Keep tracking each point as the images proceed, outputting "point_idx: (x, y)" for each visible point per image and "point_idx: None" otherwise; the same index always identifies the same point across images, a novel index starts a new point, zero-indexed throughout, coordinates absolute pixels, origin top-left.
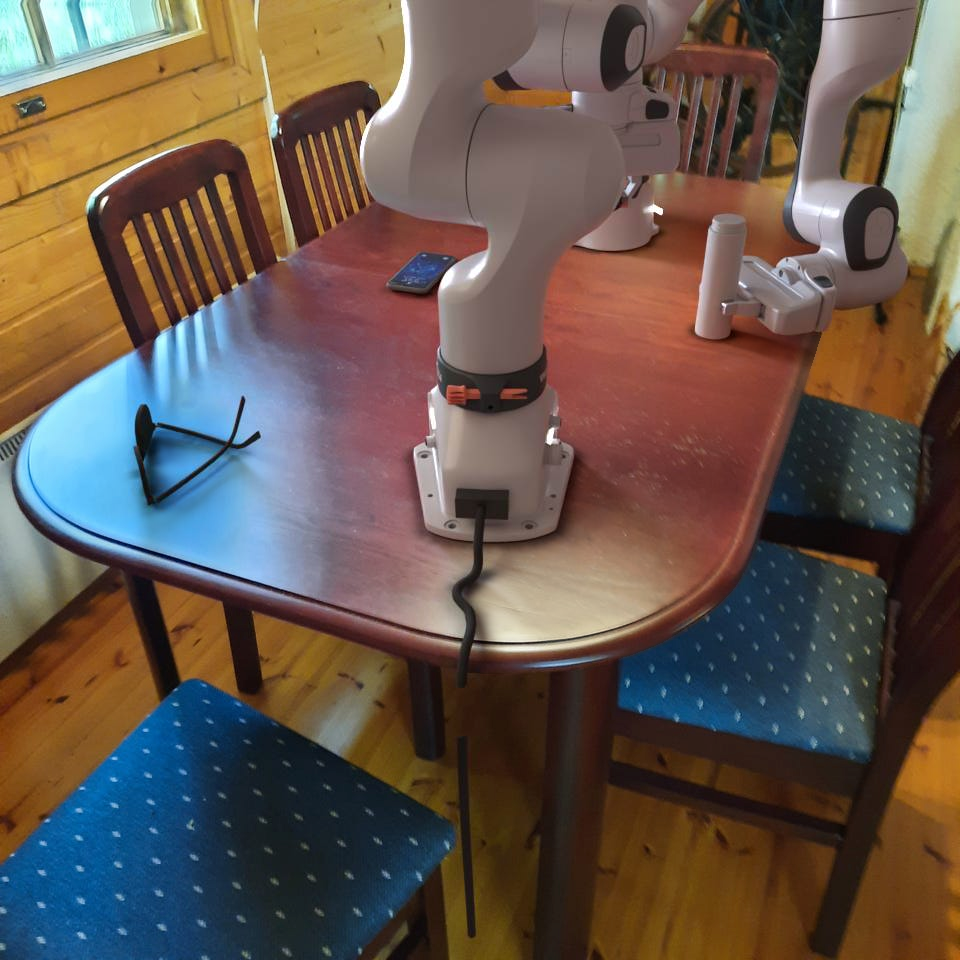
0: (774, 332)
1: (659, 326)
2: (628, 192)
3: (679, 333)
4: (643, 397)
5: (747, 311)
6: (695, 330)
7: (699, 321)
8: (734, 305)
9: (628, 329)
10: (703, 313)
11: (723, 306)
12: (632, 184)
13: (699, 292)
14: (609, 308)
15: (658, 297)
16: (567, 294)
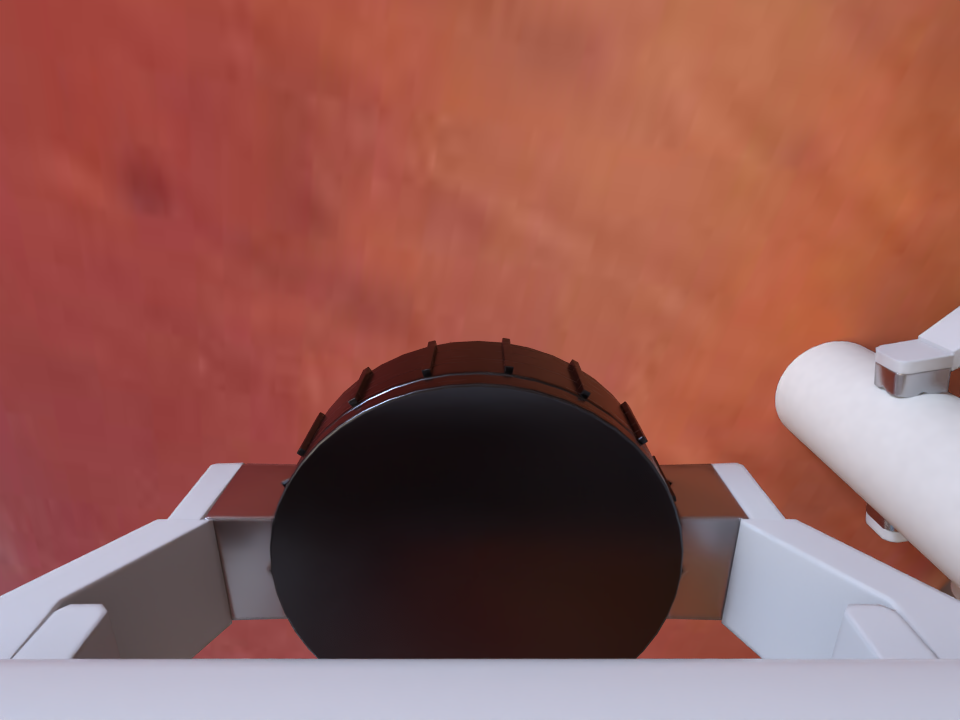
0: (952, 591)
1: (684, 334)
2: (747, 617)
3: (726, 387)
4: None
5: None
6: (778, 392)
7: (797, 425)
8: None
9: (579, 341)
10: (818, 452)
11: (880, 524)
12: (829, 657)
13: (875, 358)
14: (560, 173)
15: (775, 99)
16: (422, 8)
